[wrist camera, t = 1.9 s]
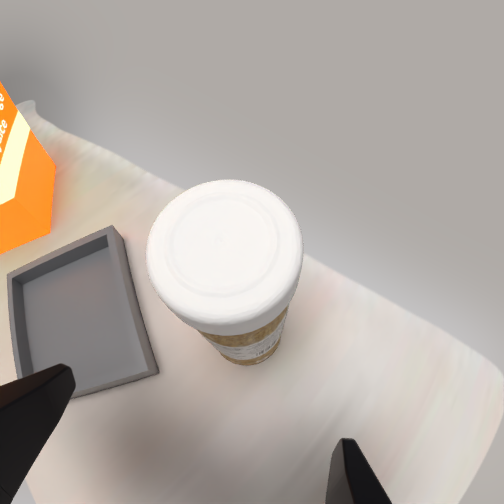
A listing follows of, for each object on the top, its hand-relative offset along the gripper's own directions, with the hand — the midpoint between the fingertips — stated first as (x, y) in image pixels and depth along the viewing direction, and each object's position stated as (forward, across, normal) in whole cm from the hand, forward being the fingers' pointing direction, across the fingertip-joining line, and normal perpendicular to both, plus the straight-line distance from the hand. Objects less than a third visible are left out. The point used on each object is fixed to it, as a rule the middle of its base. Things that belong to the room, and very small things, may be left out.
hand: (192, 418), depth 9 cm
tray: (+10, +13, +6) cm, 17 cm away
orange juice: (+16, +25, 0) cm, 29 cm away
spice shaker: (+12, 0, +5) cm, 13 cm away
